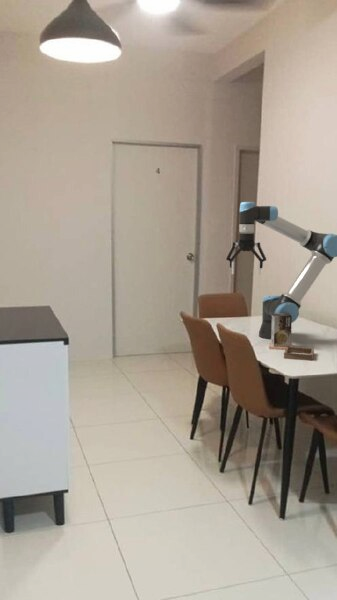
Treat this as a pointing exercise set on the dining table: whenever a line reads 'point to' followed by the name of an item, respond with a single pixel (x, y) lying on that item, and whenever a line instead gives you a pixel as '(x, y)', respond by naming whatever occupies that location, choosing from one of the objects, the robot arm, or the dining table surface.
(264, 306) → the robot arm
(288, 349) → the tray
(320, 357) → the dining table surface
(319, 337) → the dining table surface
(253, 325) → the dining table surface
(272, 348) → the terracotta tile
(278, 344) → the coffee box
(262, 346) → the dining table surface
